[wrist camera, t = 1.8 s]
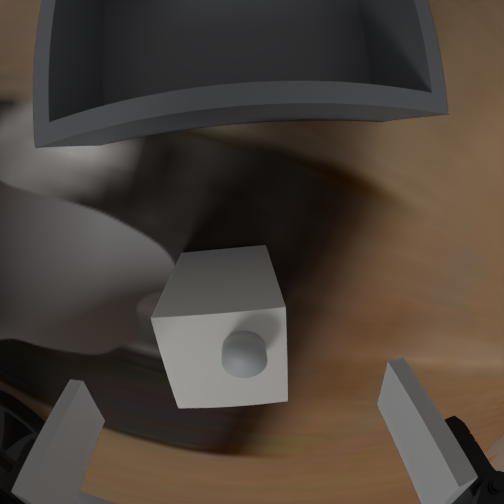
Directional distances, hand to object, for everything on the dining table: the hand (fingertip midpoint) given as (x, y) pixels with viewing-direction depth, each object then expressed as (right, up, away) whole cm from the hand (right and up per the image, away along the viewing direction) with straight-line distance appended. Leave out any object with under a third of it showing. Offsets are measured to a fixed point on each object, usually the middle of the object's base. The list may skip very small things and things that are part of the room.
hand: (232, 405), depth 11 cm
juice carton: (-1, +4, +11) cm, 12 cm away
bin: (0, +22, +5) cm, 22 cm away
